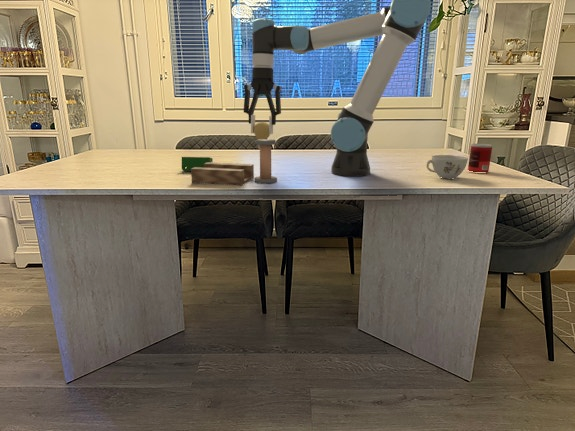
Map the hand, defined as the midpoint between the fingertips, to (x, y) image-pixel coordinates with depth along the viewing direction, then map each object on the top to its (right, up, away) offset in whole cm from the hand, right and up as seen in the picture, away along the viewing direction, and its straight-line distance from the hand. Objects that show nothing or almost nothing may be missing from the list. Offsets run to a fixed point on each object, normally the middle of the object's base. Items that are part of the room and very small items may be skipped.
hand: (262, 133), depth 149 cm
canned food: (+86, -13, +13) cm, 88 cm away
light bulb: (0, -6, +2) cm, 6 cm away
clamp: (-27, -13, +12) cm, 32 cm away
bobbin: (+2, -19, -7) cm, 20 cm away
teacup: (+68, -17, +1) cm, 70 cm away
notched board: (-13, -18, -6) cm, 23 cm away
